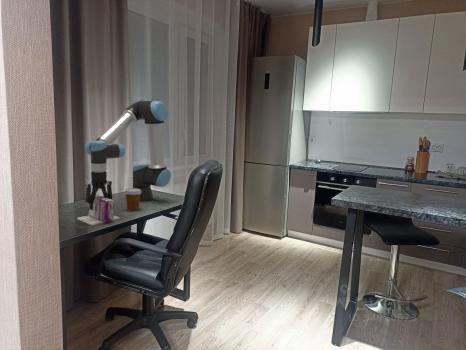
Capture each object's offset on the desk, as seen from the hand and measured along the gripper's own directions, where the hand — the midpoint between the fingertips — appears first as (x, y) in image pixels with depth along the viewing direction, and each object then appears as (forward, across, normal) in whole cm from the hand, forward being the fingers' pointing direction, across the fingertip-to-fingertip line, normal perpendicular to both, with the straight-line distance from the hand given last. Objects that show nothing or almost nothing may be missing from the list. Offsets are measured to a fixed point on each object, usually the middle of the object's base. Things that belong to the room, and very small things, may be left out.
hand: (99, 214), depth 175 cm
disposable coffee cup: (+3, +24, +4) cm, 25 cm away
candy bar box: (-3, 0, -9) cm, 10 cm away
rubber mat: (+3, 0, +1) cm, 3 cm away
